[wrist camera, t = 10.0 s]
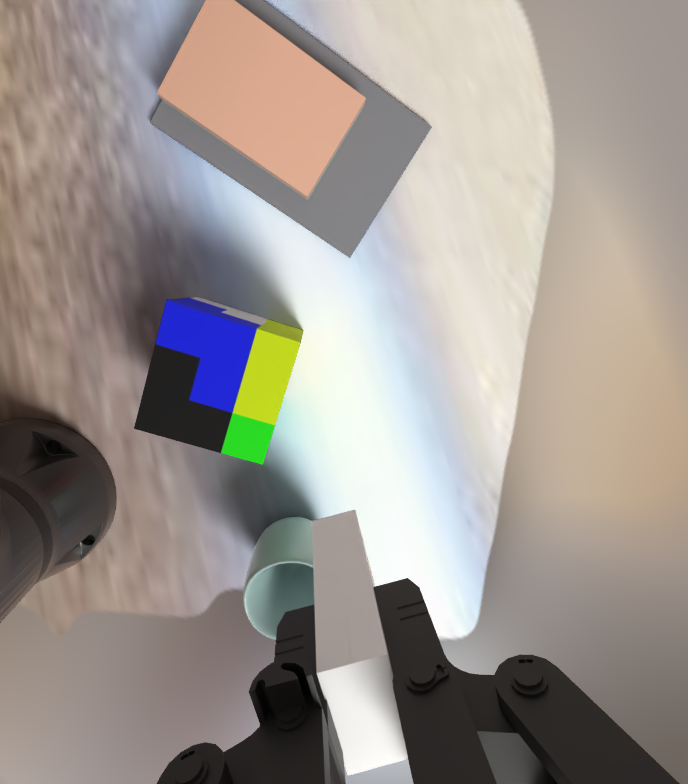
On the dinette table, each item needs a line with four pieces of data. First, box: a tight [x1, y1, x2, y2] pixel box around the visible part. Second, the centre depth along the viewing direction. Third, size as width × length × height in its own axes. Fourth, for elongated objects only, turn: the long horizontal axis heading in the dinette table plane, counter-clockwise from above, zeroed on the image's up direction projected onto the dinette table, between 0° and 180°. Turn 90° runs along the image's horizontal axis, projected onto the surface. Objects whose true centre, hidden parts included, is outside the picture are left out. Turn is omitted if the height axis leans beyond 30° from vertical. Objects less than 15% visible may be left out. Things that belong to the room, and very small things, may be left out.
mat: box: [150, 0, 431, 258], centre depth 42 cm, size 20×13×1 cm, turn 57°
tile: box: [157, 0, 366, 201], centre depth 40 cm, size 2×9×14 cm
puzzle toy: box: [134, 297, 303, 465], centre depth 41 cm, size 10×10×10 cm
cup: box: [243, 517, 314, 639], centre depth 45 cm, size 8×8×10 cm
